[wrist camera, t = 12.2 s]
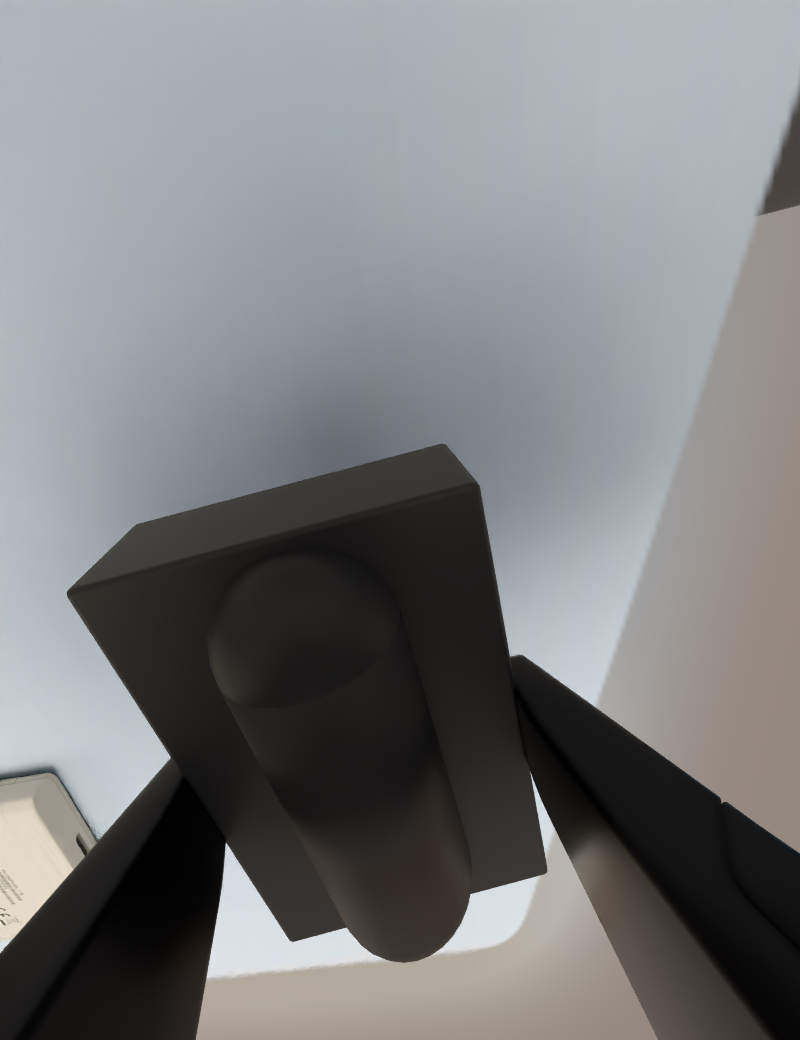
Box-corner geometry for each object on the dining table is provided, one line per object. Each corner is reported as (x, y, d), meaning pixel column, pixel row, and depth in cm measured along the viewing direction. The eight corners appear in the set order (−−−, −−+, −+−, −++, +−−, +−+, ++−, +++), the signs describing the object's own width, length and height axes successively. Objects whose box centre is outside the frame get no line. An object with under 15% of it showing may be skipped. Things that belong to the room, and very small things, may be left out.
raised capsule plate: (134, 523, 7) (-16, 663, 4) (445, 441, 7) (515, 523, 4) (299, 835, 10) (282, 1037, 7) (513, 778, 10) (579, 956, 7)
